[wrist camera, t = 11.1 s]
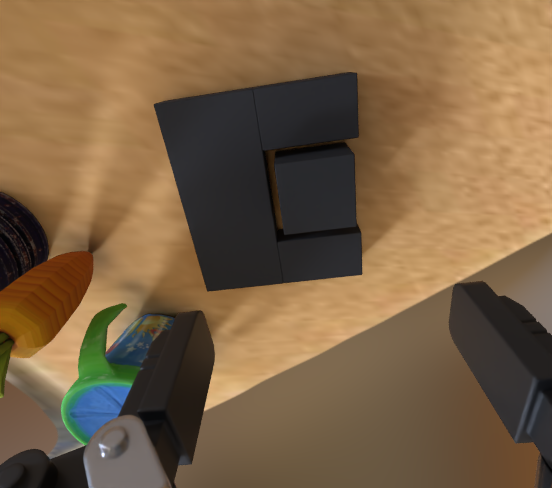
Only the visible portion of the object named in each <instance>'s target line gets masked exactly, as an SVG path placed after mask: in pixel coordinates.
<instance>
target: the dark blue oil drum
mask: <svg viewBox="0 0 552 488" xmlns="http://www.w3.org/2000/svg"><path fill="white" fill-rule="evenodd" d="M48 253H49V249H48V242H47V238H46V235H45V233H44V230H43V229H42V227H41V225H40V223H39V222H38V221H37V219H36V218H35V217H34V216H33V215H32V214H31V212H30V211H29V210H28V209H26V208H25V207H24V206H23V205H22V204H20V203H19V202H18V201H16V200H15V199H13V198H11V197H10V196H8V195H6V194H4V193H2V192H0V292H1V291H2V290H3V289H4V288H6V287H7V286H8V285H10V284H11V283H12V282H14V281H15V280H17V279H18V278H19V277H21V276H22V275H24V274H25V273H27V272H28V271H29V270H31V269H32V268H34V267H36V266H38V265H40V264H42V263H44V262H46V261H47V259H48Z"/></svg>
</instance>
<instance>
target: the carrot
mask: <svg viewBox="0 0 552 488" xmlns="http://www.w3.org/2000/svg"><path fill="white" fill-rule="evenodd" d="M92 274H93V255H92V254H91V253H89V252H86V251H80V252H70V253H66V254H62V255H58V256H56V257H54V258H52V259H50V260H48V261H46V262H44V263H42V264H40V265H38V266H36V267H34V268H32V269H31V270H29V271H28V272H27V273H25V274H24V275H22V276H21V277H19V278H18V279H17V280H15V281H14V282H12V283H11V284H10V285H8V286H7V287H6V288H4V289H3V290H2V291H1V292H0V398H2V397H3V396H4V385H5V378H6V373H7V368H8V364H9V359H10V357H17V358H30V357H31V356H33V355H34V354H35V353H37V352H38V351H39V350H41V349H42V348H43V347H44V346H46V345H47V344H48V343H49V342H51V341H52V340H53V339H54V337H55V336H56V335H57V333H58V332H59V331H60V330H61V328H62V327H63V326H64V325H65V323H66V322H67V321H68V319H69V318H70V317H71V315H72V314H73V313H74V311H75V310H76V309H77V307H78V306H79V304H80V303H81V301H82V299H83V297H84V295H85V293H86V291H87V289H88V287H89V284H90V282H91V279H92Z"/></svg>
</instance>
